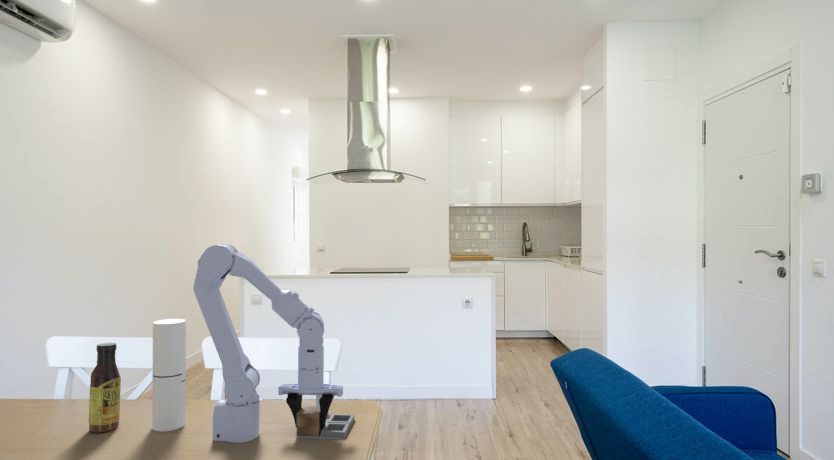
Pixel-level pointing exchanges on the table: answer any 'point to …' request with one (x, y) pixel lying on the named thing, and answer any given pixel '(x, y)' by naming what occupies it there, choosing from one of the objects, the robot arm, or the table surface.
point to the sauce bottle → (105, 391)
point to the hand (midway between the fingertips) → (310, 426)
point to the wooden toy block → (308, 421)
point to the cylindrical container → (168, 374)
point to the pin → (318, 399)
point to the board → (335, 427)
